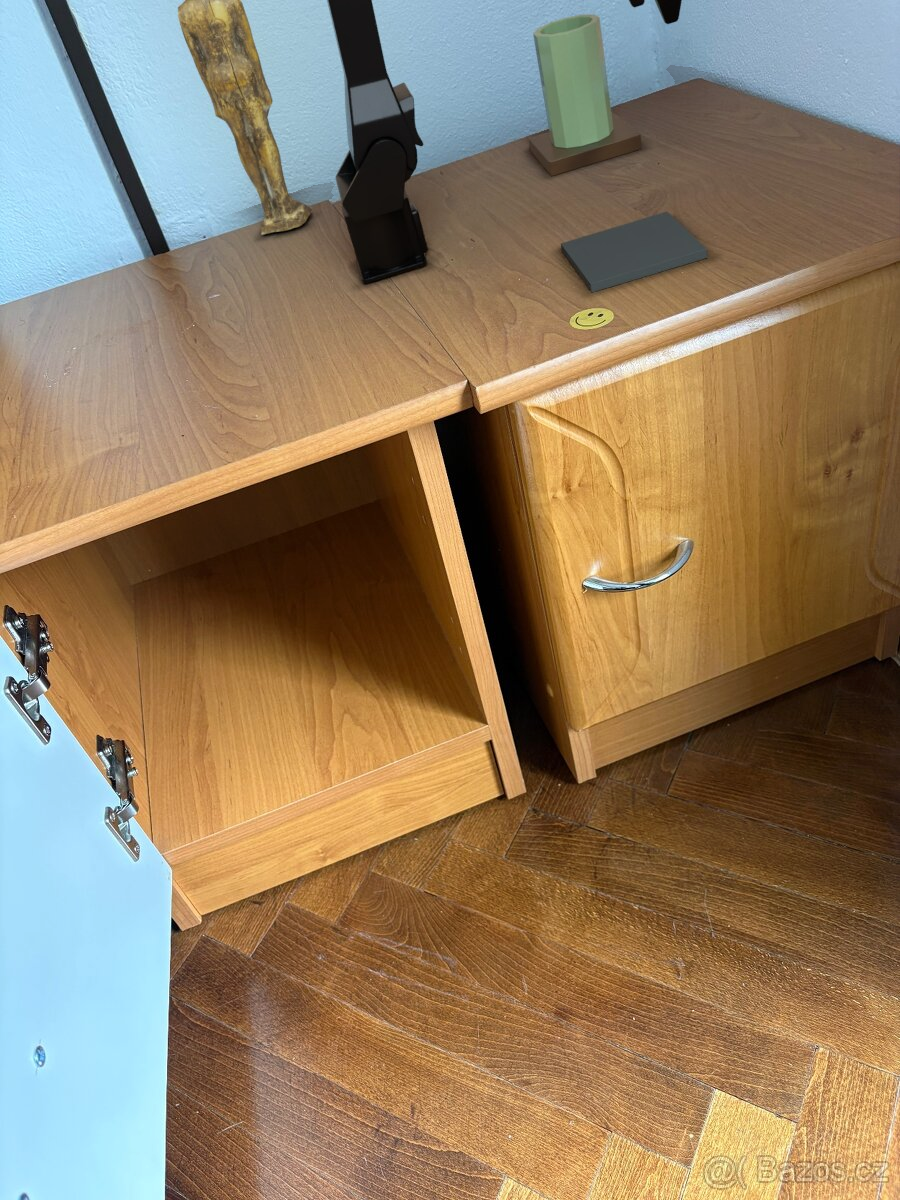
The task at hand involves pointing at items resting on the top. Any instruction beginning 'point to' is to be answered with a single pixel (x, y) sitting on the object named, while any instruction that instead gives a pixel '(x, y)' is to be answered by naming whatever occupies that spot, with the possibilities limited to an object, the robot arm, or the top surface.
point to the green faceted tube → (574, 80)
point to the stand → (585, 149)
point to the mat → (632, 251)
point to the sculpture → (241, 100)
